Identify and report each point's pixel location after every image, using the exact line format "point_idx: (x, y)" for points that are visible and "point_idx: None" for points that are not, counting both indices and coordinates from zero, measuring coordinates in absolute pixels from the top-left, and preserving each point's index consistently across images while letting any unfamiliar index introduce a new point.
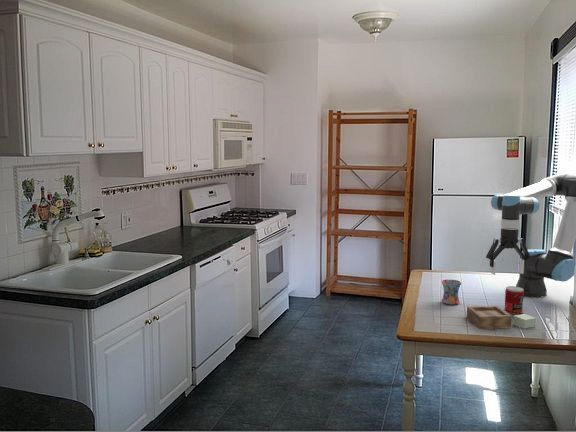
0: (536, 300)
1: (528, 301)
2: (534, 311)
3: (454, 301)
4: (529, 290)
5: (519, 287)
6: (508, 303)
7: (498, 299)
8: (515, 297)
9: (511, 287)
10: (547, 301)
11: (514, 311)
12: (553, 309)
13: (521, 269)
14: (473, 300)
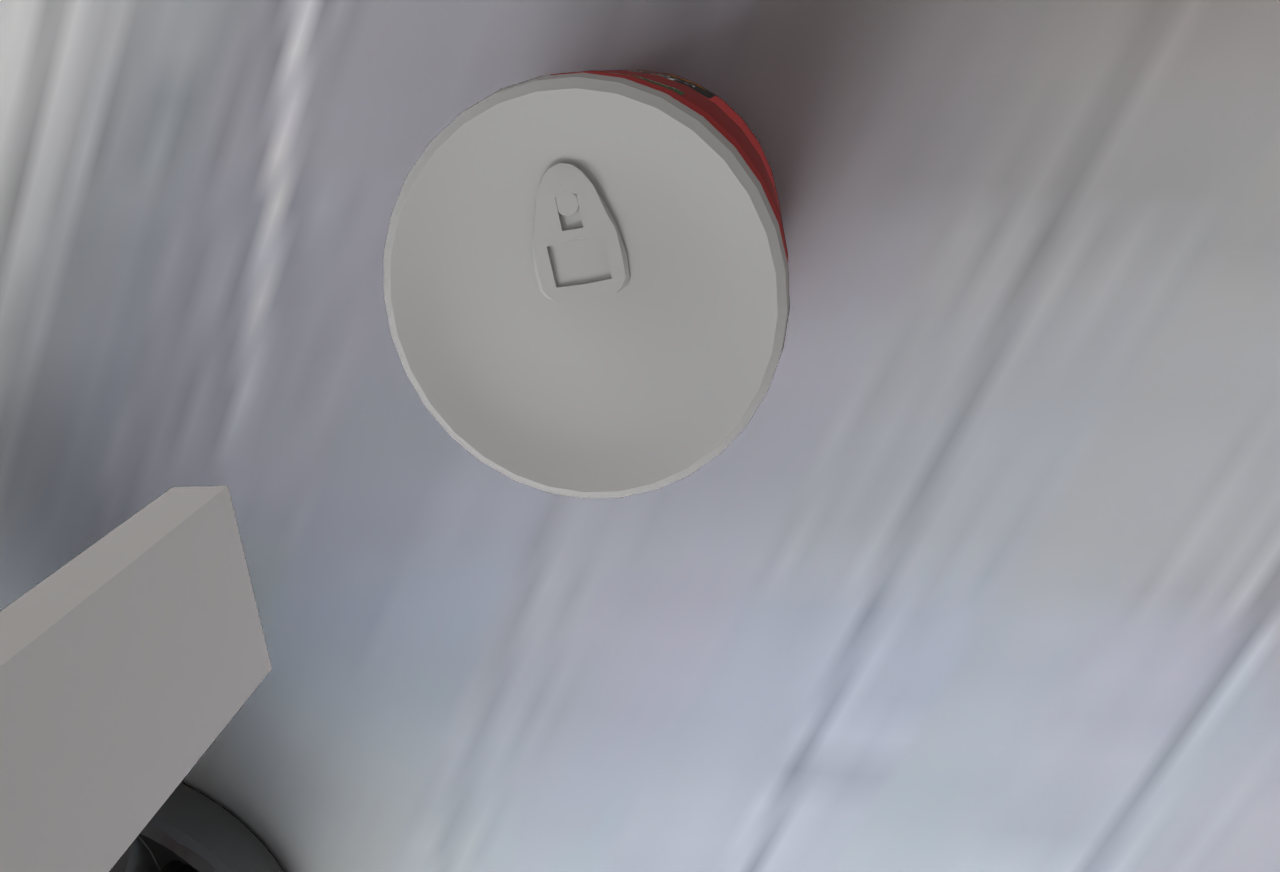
0: None
1: None
2: (318, 196)
3: None
4: (136, 860)
5: (429, 383)
6: (764, 164)
7: (624, 746)
8: (657, 82)
9: (601, 436)
10: None
11: (683, 79)
12: (17, 278)
13: (153, 606)
14: (1007, 742)
